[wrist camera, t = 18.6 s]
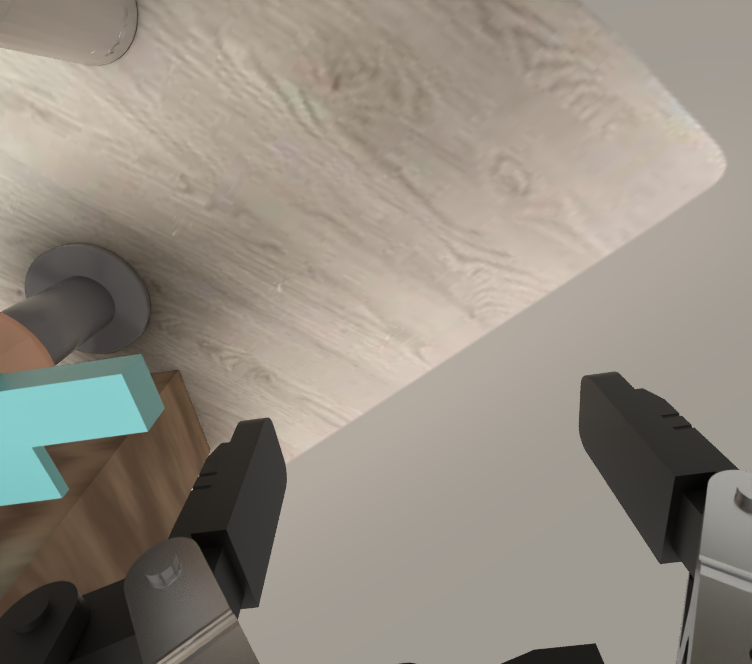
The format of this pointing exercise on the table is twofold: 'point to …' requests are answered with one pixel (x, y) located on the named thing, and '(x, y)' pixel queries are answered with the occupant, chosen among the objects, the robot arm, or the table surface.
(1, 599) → the wooden block
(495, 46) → the table surface
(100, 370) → the cover
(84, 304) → the bowl
